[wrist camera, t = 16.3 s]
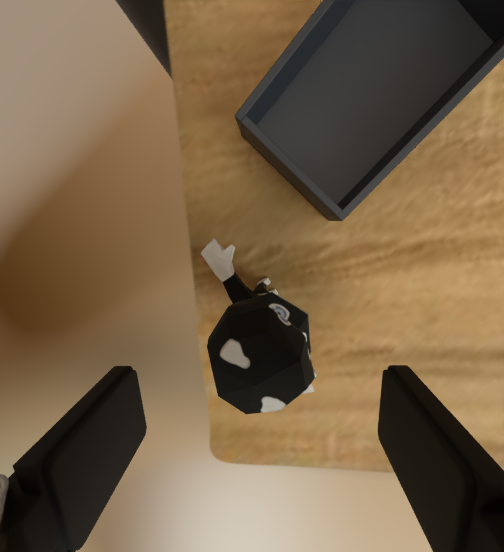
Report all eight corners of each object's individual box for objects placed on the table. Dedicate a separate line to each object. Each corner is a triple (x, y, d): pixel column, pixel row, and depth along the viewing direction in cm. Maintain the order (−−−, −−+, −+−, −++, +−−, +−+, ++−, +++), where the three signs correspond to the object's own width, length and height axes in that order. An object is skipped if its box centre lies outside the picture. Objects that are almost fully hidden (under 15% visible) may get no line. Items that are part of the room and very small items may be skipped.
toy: (326, 327, 26) (395, 467, 11) (276, 353, 27) (280, 511, 12) (257, 215, 24) (233, 211, 9) (206, 249, 25) (114, 291, 10)
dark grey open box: (241, 135, 22) (234, 115, 18) (402, -68, 18) (443, -157, 14) (329, 220, 23) (342, 221, 19) (499, 45, 20) (565, -5, 15)
